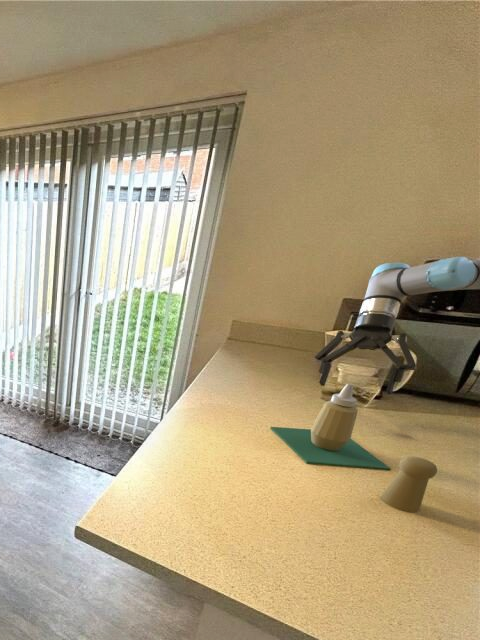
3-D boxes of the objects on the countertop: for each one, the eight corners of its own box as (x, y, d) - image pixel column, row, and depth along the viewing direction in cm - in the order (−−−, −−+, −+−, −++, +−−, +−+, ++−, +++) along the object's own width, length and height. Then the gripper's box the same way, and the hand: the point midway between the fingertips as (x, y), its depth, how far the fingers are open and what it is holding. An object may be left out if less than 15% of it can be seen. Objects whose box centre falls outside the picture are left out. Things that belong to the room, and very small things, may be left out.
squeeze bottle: (342, 442, 106) (368, 382, 99) (347, 457, 100) (375, 393, 93) (304, 434, 110) (326, 375, 103) (307, 447, 104) (331, 386, 97)
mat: (390, 470, 96) (391, 468, 95) (306, 463, 99) (307, 461, 98) (340, 433, 112) (341, 431, 111) (270, 428, 115) (270, 426, 115)
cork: (372, 494, 88) (392, 453, 83) (397, 492, 88) (418, 451, 84) (401, 513, 82) (424, 470, 78) (428, 511, 82) (452, 468, 78)
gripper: (446, 325, 101) (422, 401, 100) (321, 321, 122) (300, 385, 121) (444, 312, 97) (419, 392, 96) (316, 311, 117) (294, 376, 116)
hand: (353, 388), depth 108 cm, fingers open, 13 cm apart
